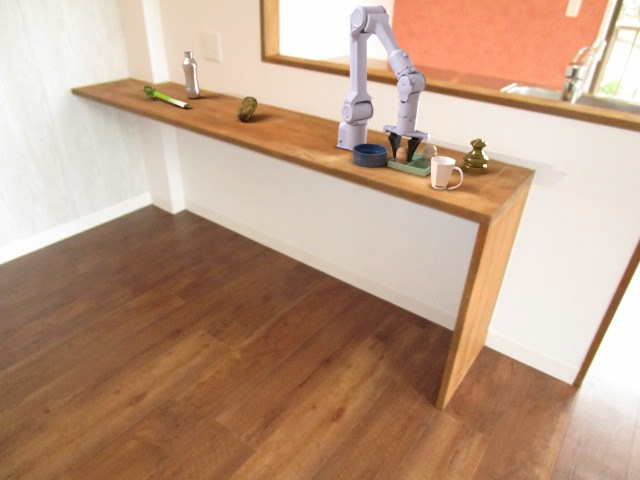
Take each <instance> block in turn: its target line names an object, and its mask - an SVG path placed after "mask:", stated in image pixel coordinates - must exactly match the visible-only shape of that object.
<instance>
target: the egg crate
mask: <svg viewBox="0 0 640 480" xmlns="http://www.w3.org/2000/svg"><path fill="white" fill-rule="evenodd" d="M386 167H388V168H392V169H395V170H398V171H403V172H406V173H411V174H415V175H419V176H423V177H426V176H427V175H429V174H431V163H427V162H423V161H422V153H420V152H415V153H414V155H413V158H412V160H411V161H410V162H408V164H407V165H404V164H400V163H396V158H393V157H392V158H390V159H389V160H387V165H386Z"/></svg>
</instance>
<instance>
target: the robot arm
mask: <svg viewBox="0 0 640 480" xmlns="http://www.w3.org/2000/svg"><path fill="white" fill-rule="evenodd" d="M372 35H375V36H377V38H378V41H380V43H381V45H382V46H383V47H384V49H385V51H386V53H387V54H388V55H389V56H388V59H387V60H388V64H389V66H390V68H391V70H392V72H393V73H394V75H395V77H396V79H397V81H398V82H396V88H397V92H398V100H399V104H398V111H397V112H398V113H397V122H396V125H389V124H385V125H383V126H382V133H384V134H389V135H388V136H387V139H388V141H389V144H390V147H391V151H392V158H396V151H397V149H398V147H399V146H401V141H402V138H403V137H405V138H410V139H408V140H407V146H408V155H407V162H410V161H411V160H412V158H413V155H414V153H416V151H417V149H418V147H419V145H420V144H421V142H425V143H426V142H428V141H429V140H430V133H426V132H423V131H422V130H421V131H420V130H418V129H417V123H418V115H419V107H420V101H421V94H422V93H423V92H424V90H425V89H426V87H427V79H426V76H425V74H424V73H423V72H422V71H419V70H418V69H417V68H416V67H415V65H414V63H413V61H412V60H411V58H410V54H409V52H408V51H407V50H405V49H401V48H400V46H399V43H398V41H397V39H396V36H395V33H394V32H393V30H392V28H391V25H390V14H389V13H387V9H386V7H385V6H383V5H369V6H367V5H366V6H365V5H364V6H362V5H357V6H355V7H354V9H353V10H352V11H351V12H350V14H349V89H350V90H349V92H348V94H347V95H346V96H345V97H344V98H343V104H342V108H341V116H342V120H341V121H340V123H339V125H338V129H337V130H338V131H337V144H336V147H337V148H341V149H344V150H348V151H353V147H354V146H355V145H357V144H363V143H367V138H368V127H369V123H370V121H371V119H373V117H374V114H375V108H374V104H373V97H372V95H371V94H369V92H368V40H369V38H370V37H371V36H372Z"/></svg>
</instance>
